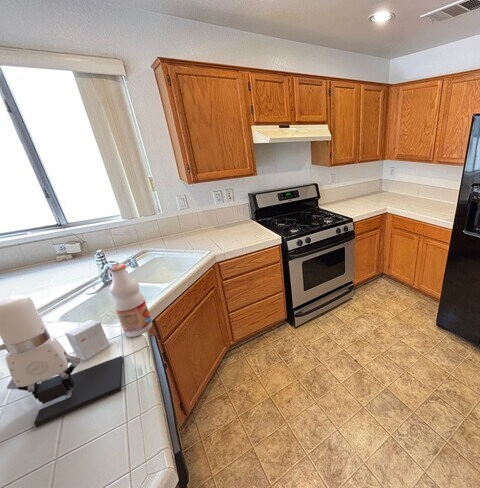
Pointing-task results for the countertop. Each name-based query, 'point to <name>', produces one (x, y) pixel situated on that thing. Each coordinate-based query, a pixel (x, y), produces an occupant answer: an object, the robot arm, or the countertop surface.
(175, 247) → the countertop surface
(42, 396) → the pad piece
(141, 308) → the fruit juice
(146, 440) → the countertop surface
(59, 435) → the countertop surface
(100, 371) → the base pad
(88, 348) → the small box
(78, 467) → the countertop surface
